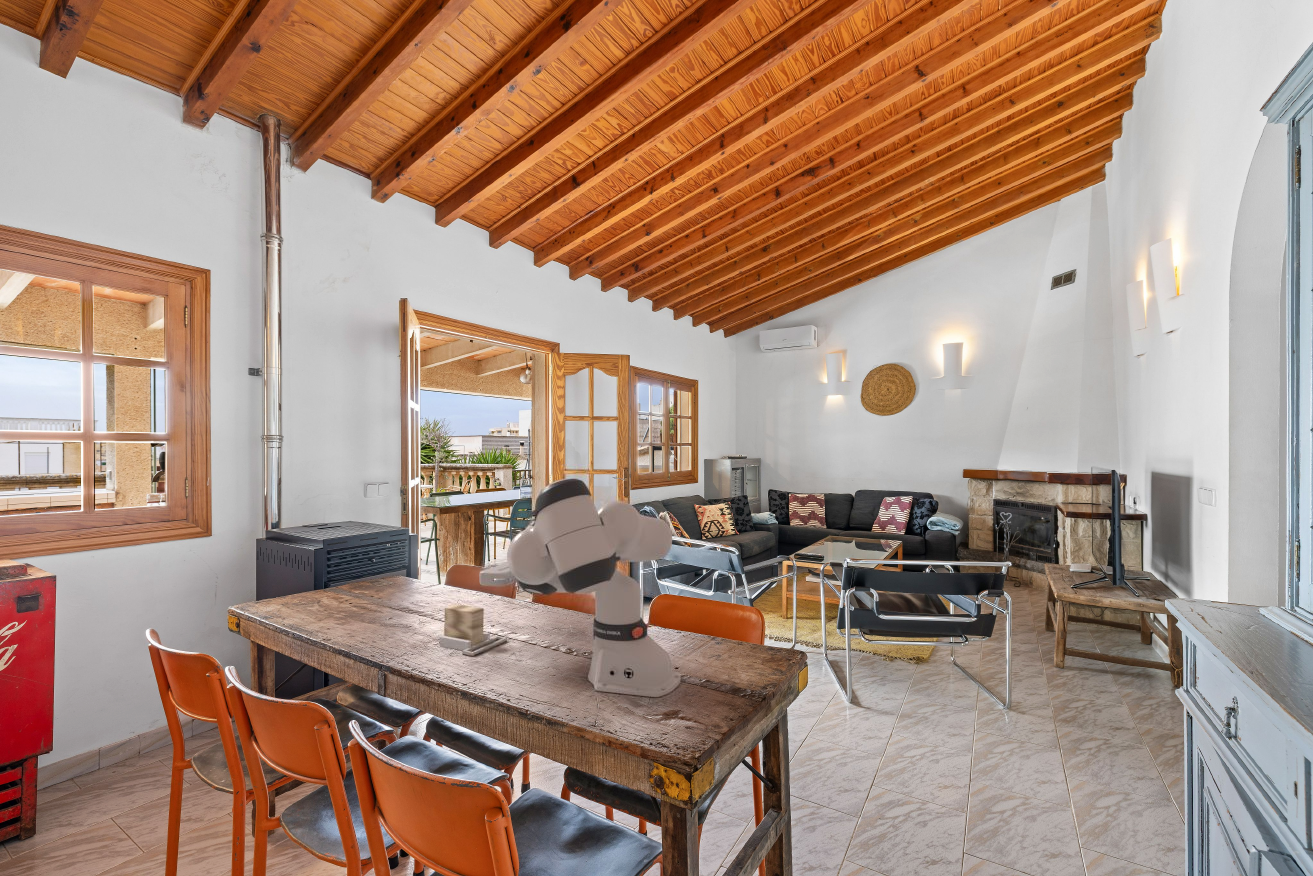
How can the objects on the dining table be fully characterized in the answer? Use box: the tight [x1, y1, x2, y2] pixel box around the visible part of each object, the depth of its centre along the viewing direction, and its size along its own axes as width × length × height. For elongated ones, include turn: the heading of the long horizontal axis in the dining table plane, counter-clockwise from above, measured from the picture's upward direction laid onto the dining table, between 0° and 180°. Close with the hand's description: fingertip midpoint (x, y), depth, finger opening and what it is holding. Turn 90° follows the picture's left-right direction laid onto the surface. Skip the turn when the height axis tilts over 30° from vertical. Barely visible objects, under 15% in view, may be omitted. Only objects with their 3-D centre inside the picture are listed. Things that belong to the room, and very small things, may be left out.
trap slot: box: [461, 635, 508, 657], centre depth 163 cm, size 4×14×1 cm, turn 156°
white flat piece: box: [439, 631, 491, 651], centre depth 166 cm, size 10×9×2 cm
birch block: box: [443, 603, 485, 647], centre depth 167 cm, size 10×4×10 cm, turn 65°
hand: (488, 568), depth 163 cm, fingers closed
